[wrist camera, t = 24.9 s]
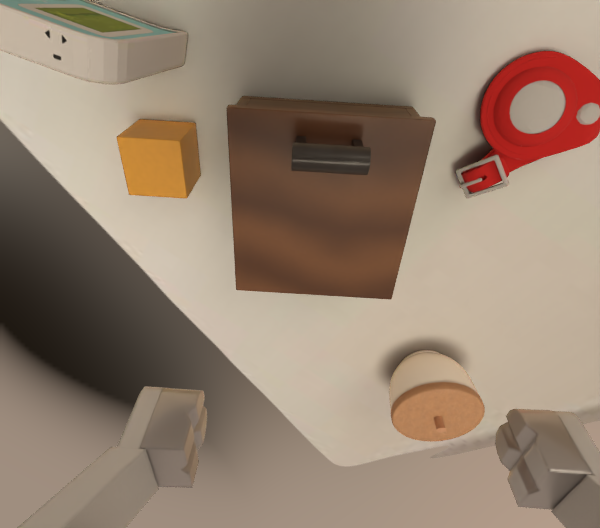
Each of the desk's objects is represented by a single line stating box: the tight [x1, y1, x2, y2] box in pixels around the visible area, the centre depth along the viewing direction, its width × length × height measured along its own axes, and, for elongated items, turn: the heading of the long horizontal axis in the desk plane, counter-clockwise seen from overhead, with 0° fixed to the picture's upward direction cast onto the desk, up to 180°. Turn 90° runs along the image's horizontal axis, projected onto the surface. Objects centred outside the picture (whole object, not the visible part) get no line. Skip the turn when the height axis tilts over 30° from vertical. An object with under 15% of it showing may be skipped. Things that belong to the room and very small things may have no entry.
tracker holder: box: [456, 51, 600, 198], centre depth 33 cm, size 12×4×10 cm
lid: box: [227, 105, 436, 299], centre depth 30 cm, size 16×15×5 cm
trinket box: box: [389, 350, 484, 441], centre depth 49 cm, size 11×11×9 cm
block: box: [117, 119, 201, 198], centre depth 34 cm, size 5×5×5 cm
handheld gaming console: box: [0, 0, 188, 84], centre depth 26 cm, size 11×3×15 cm
